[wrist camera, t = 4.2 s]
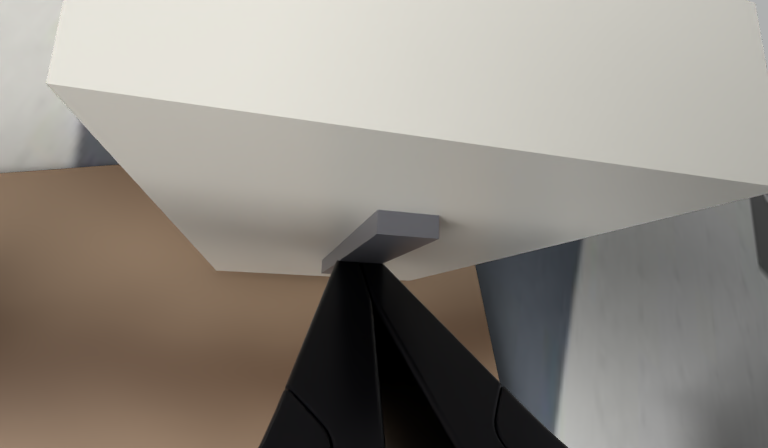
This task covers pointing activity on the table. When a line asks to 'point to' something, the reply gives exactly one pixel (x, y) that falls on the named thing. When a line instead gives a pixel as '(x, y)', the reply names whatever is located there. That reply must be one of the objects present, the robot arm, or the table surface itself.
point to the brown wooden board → (152, 322)
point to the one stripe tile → (417, 121)
